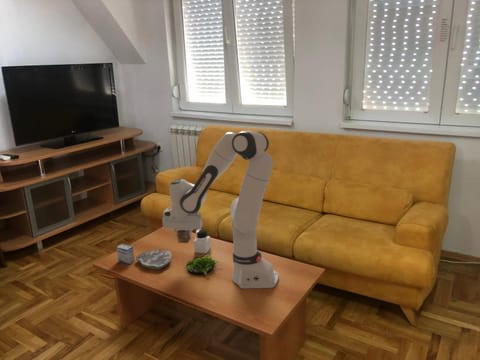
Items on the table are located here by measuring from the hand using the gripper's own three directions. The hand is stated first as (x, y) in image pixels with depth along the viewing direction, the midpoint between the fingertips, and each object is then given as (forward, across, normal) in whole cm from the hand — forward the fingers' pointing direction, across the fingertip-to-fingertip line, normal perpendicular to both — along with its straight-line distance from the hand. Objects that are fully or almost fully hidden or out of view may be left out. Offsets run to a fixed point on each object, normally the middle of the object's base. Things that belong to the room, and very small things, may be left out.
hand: (184, 235), depth 211 cm
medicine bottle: (+17, -3, -16) cm, 23 cm away
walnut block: (+3, 0, 0) cm, 3 cm away
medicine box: (+16, +34, +2) cm, 37 cm away
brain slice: (+16, +18, 0) cm, 24 cm away
